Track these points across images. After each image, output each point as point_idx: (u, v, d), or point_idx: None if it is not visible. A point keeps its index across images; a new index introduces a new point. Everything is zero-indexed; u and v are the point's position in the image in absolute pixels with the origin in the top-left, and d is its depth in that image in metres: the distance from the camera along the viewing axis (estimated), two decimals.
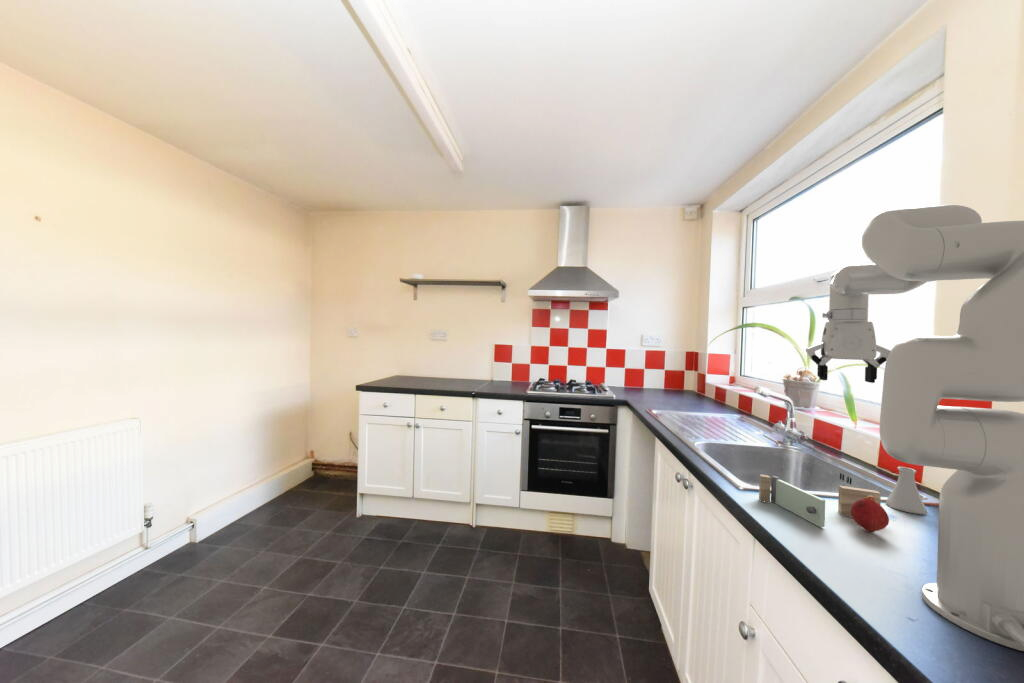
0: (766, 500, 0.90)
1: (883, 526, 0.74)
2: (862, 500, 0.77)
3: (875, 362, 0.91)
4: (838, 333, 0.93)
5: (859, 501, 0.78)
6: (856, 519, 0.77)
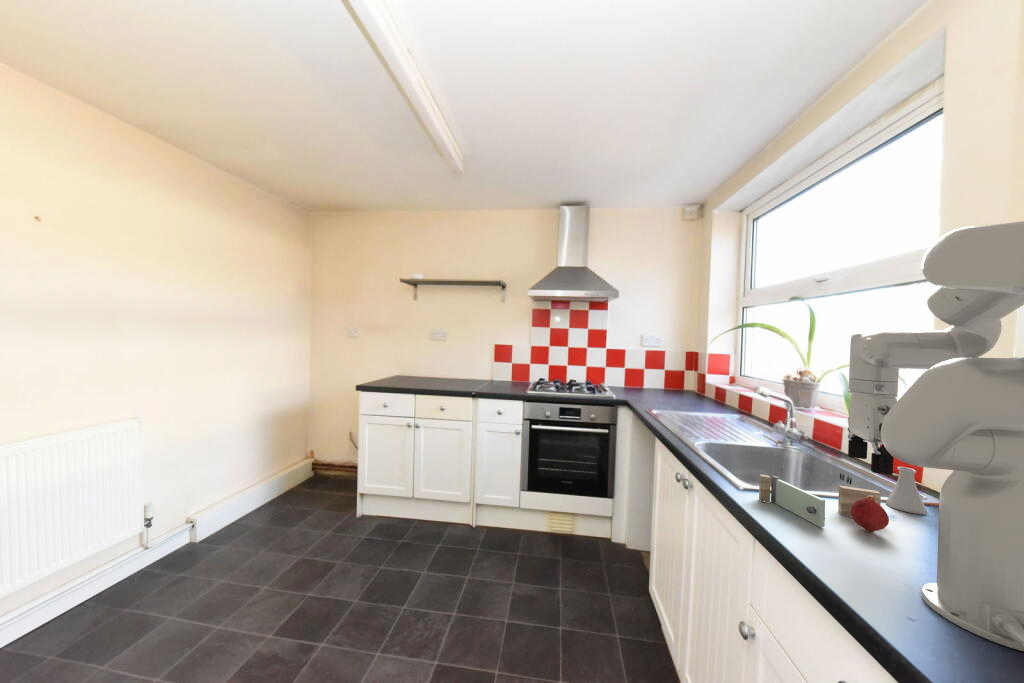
0: (766, 500, 0.90)
1: (883, 526, 0.74)
2: (862, 500, 0.77)
3: None
4: None
5: (859, 501, 0.78)
6: (856, 519, 0.77)
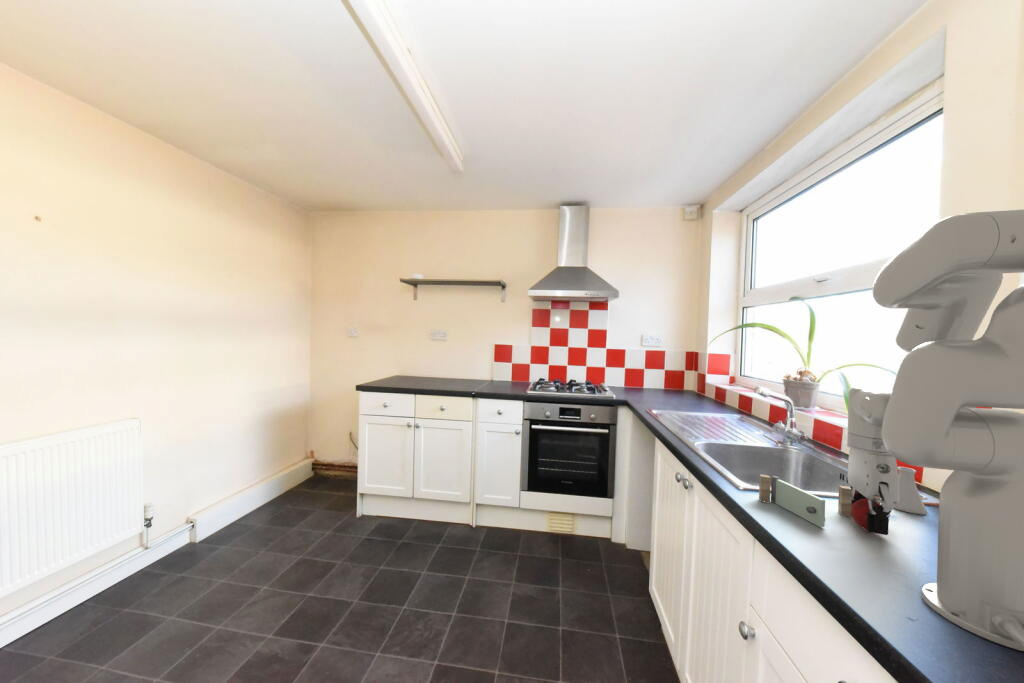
0: (766, 500, 0.90)
1: None
2: (862, 500, 0.77)
3: None
4: None
5: (859, 501, 0.78)
6: (856, 519, 0.77)
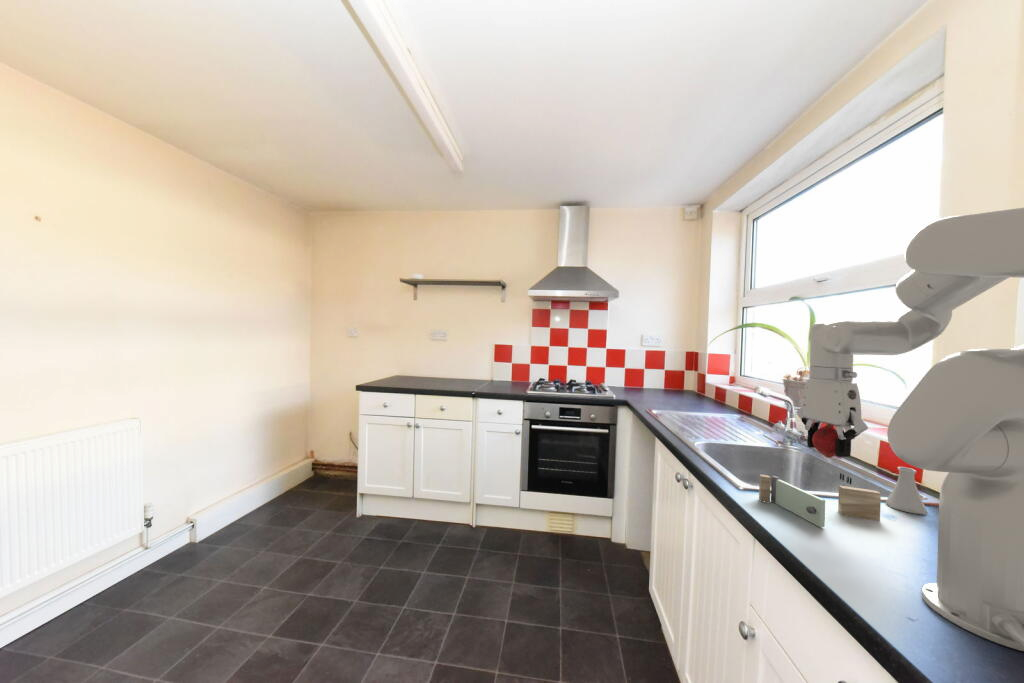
0: (766, 500, 0.90)
1: None
2: (824, 429, 0.82)
3: None
4: None
5: (822, 430, 0.82)
6: (823, 447, 0.81)
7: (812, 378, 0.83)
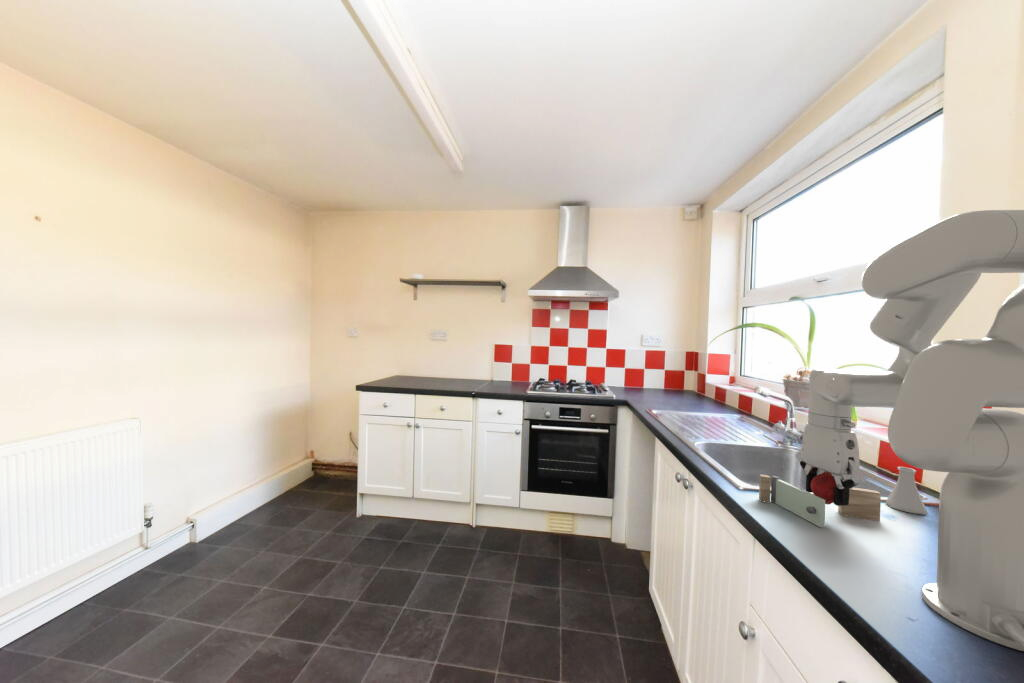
0: (766, 500, 0.90)
1: None
2: (822, 475, 0.82)
3: None
4: None
5: (820, 477, 0.82)
6: (821, 495, 0.81)
7: (811, 425, 0.83)
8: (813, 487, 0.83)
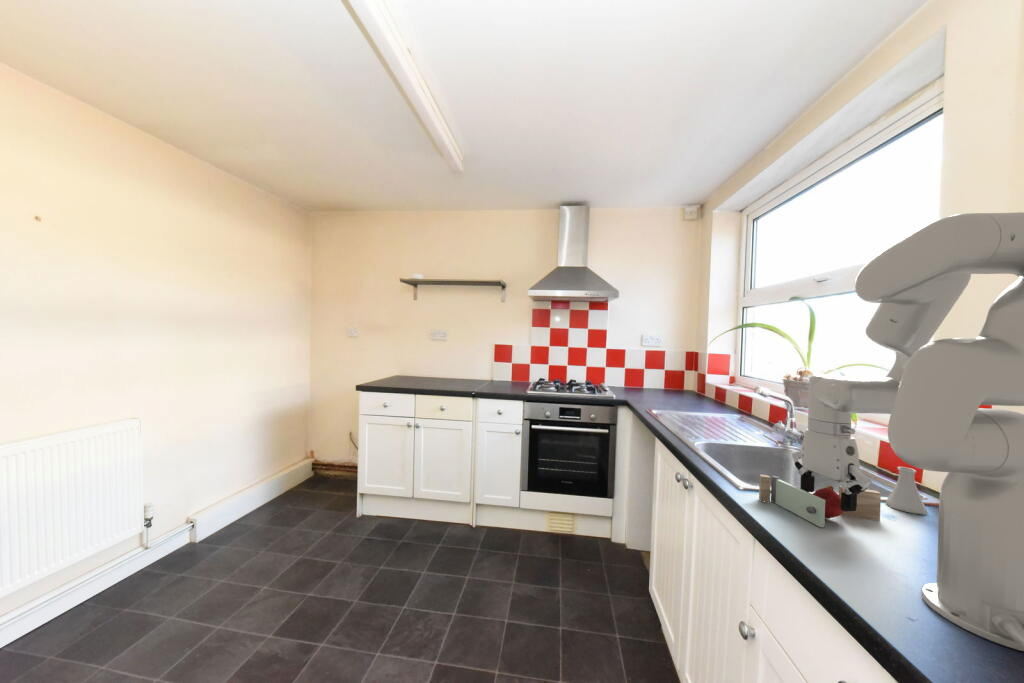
0: (766, 500, 0.90)
1: (842, 512, 0.80)
2: (824, 491, 0.82)
3: None
4: None
5: (822, 492, 0.82)
6: None
7: (810, 431, 0.83)
8: None
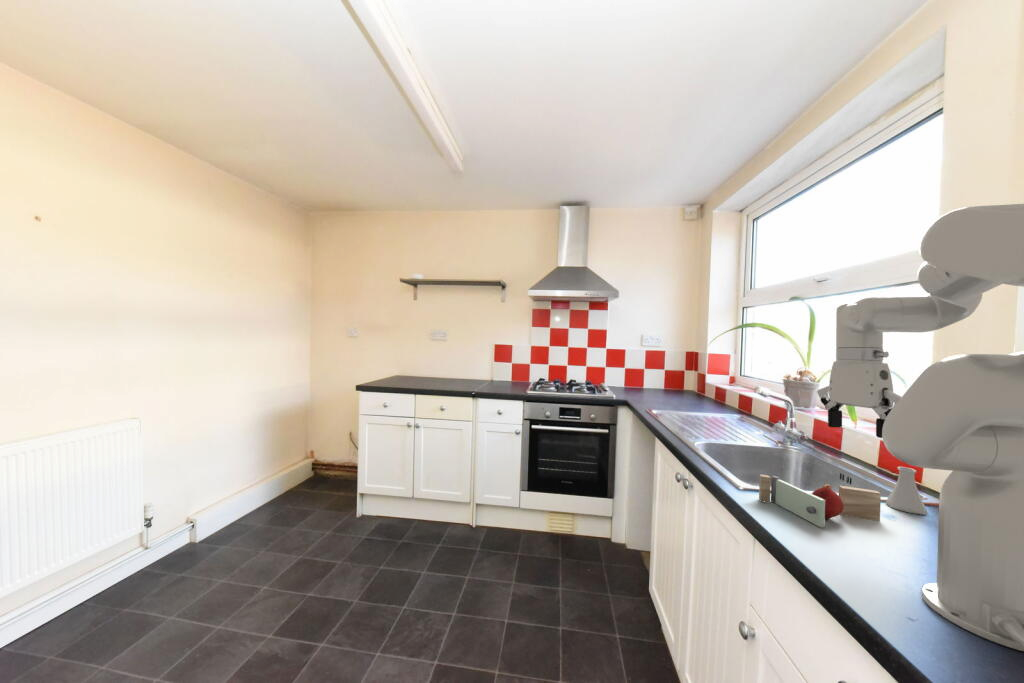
0: (766, 500, 0.90)
1: (841, 512, 0.80)
2: (822, 490, 0.82)
3: None
4: None
5: (820, 491, 0.82)
6: None
7: (840, 360, 0.80)
8: None
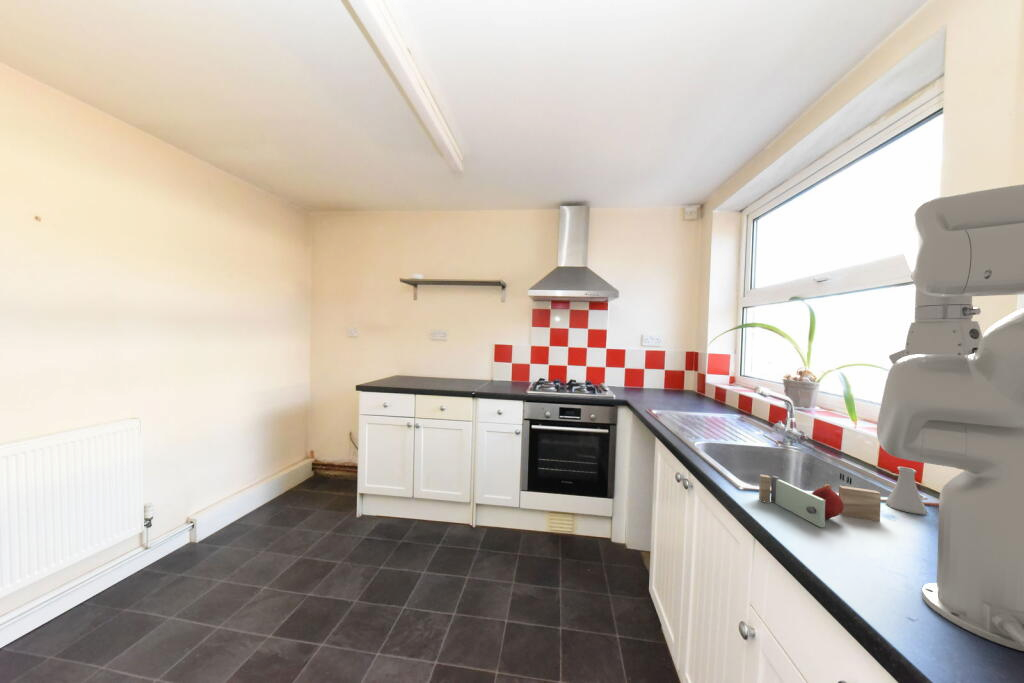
0: (766, 500, 0.90)
1: (841, 512, 0.80)
2: (822, 490, 0.82)
3: None
4: None
5: (820, 491, 0.82)
6: None
7: (921, 320, 0.74)
8: None
